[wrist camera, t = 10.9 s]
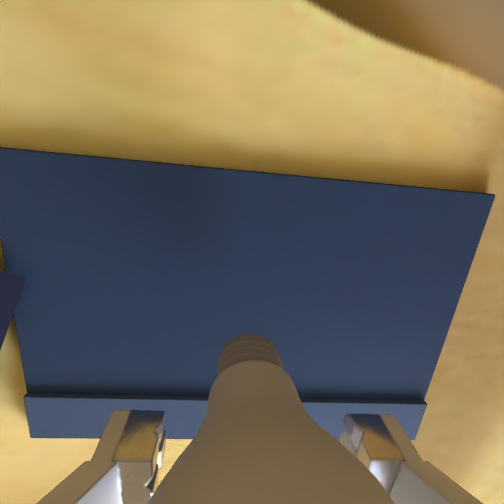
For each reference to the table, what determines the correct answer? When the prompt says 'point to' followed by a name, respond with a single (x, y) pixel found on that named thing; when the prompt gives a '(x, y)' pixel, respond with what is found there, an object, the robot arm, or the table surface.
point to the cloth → (225, 286)
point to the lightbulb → (263, 443)
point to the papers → (8, 299)
